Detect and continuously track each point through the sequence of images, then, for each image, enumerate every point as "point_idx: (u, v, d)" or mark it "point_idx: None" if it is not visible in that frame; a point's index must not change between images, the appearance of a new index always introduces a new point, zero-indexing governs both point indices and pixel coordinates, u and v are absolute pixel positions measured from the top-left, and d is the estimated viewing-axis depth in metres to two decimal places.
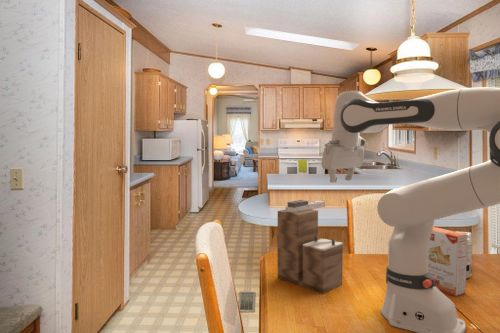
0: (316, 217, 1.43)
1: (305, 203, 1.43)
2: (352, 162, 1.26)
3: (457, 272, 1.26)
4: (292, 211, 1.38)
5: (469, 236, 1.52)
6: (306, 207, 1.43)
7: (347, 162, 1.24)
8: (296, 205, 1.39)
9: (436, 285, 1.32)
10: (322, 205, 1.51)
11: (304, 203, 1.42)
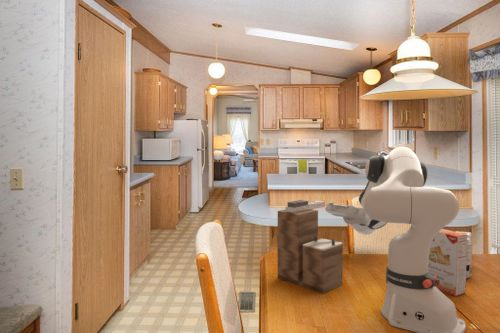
0: (316, 217, 1.43)
1: (305, 203, 1.43)
2: None
3: (457, 272, 1.26)
4: (292, 211, 1.38)
5: (469, 236, 1.52)
6: (306, 207, 1.43)
7: None
8: (296, 205, 1.39)
9: (436, 285, 1.32)
10: (322, 205, 1.51)
11: (304, 203, 1.42)
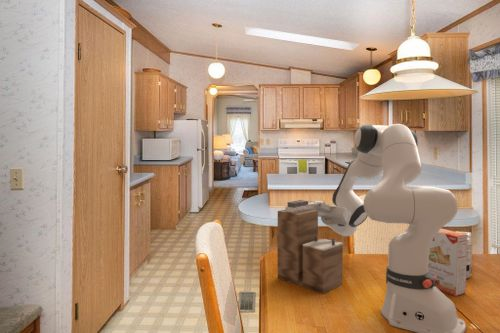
0: (316, 217, 1.43)
1: (305, 203, 1.43)
2: None
3: (457, 272, 1.26)
4: (292, 211, 1.38)
5: (469, 236, 1.52)
6: (306, 207, 1.43)
7: None
8: (296, 205, 1.39)
9: (436, 285, 1.32)
10: None
11: (304, 203, 1.42)
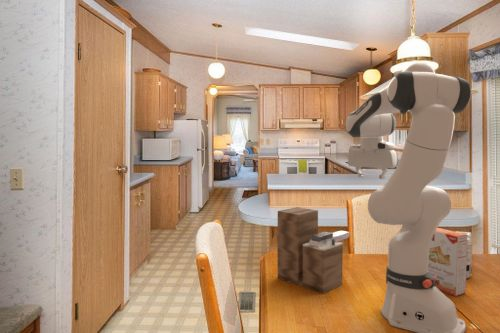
0: (316, 217, 1.43)
1: (330, 236, 1.35)
2: (376, 162, 1.51)
3: (457, 272, 1.26)
4: (317, 245, 1.30)
5: (469, 236, 1.52)
6: (331, 240, 1.35)
7: (368, 162, 1.53)
8: (321, 239, 1.31)
9: (436, 285, 1.32)
10: (346, 236, 1.43)
11: (329, 236, 1.35)
